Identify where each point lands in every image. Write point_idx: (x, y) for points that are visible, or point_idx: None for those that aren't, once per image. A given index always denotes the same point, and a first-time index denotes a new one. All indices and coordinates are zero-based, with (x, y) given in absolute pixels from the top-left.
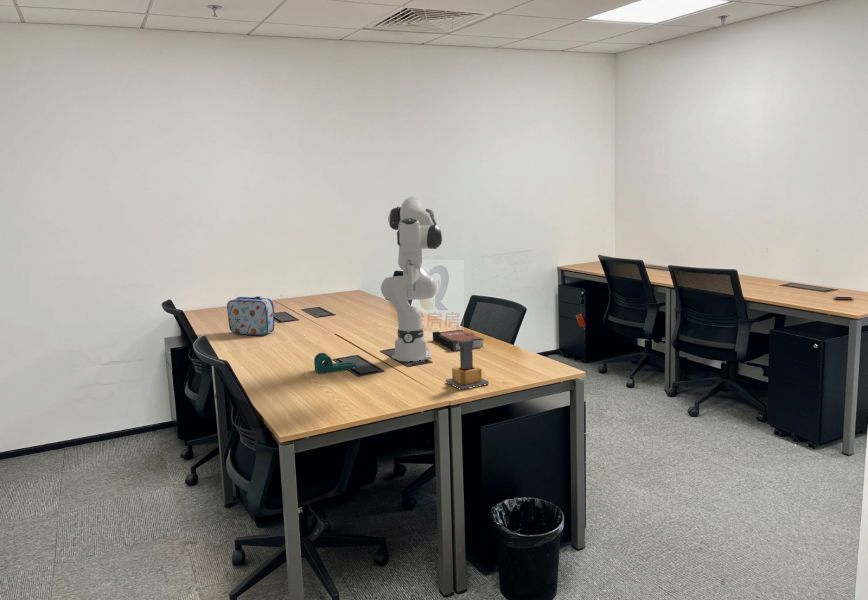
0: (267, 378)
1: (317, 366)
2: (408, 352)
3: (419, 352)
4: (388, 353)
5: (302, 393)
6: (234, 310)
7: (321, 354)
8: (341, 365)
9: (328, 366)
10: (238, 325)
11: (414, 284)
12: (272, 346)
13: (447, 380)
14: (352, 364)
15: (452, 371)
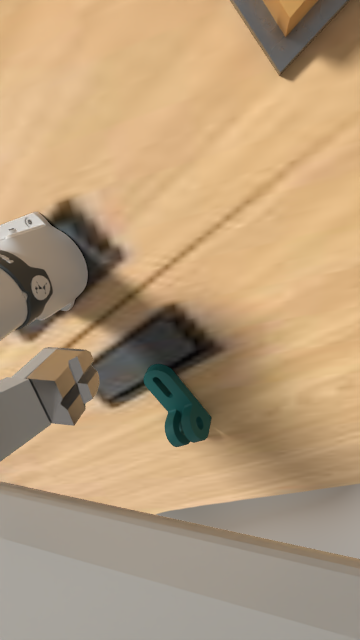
0: (246, 476)
1: (208, 430)
2: (68, 272)
3: (51, 244)
4: (38, 322)
5: (352, 425)
6: None
7: (180, 441)
8: (175, 392)
9: (197, 412)
10: None
11: (5, 421)
12: (73, 483)
13: (290, 60)
14: (163, 374)
15: (289, 22)
